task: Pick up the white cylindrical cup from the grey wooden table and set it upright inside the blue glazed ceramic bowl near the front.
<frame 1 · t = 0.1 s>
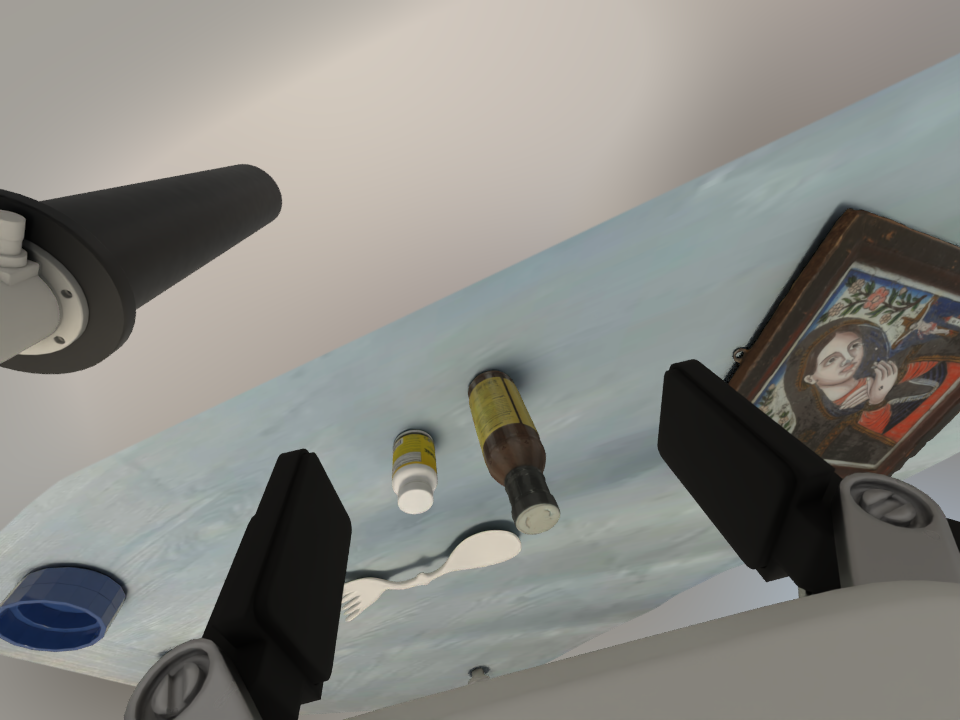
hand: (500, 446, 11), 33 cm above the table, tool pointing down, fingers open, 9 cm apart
spoon: (426, 559, 66), on the table
screw: (477, 670, 88), on the table
religious icon: (847, 376, 60), on the table
sauce bottle: (491, 388, 50), on the table
bowl: (76, 589, 56), on the table
supplement bottle: (414, 442, 53), on the table
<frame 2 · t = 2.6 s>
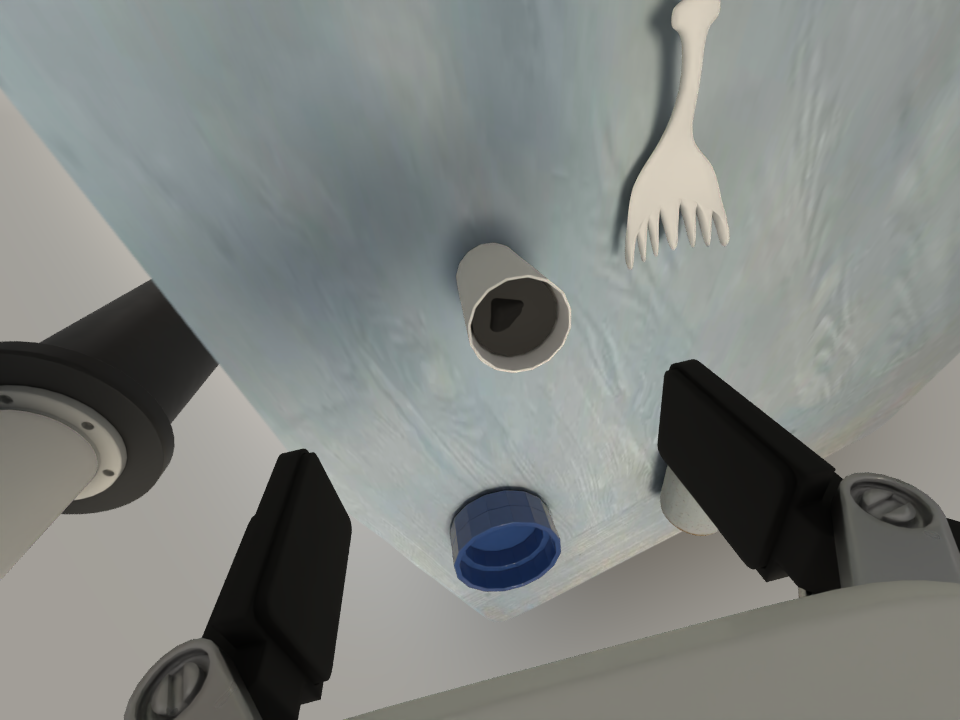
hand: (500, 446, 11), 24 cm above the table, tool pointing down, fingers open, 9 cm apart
ceramic mug: (688, 463, 50), on the table
spoon: (666, 14, 26), on the table
white cylindrical cup: (489, 276, 33), on the table
bowl: (499, 521, 49), on the table
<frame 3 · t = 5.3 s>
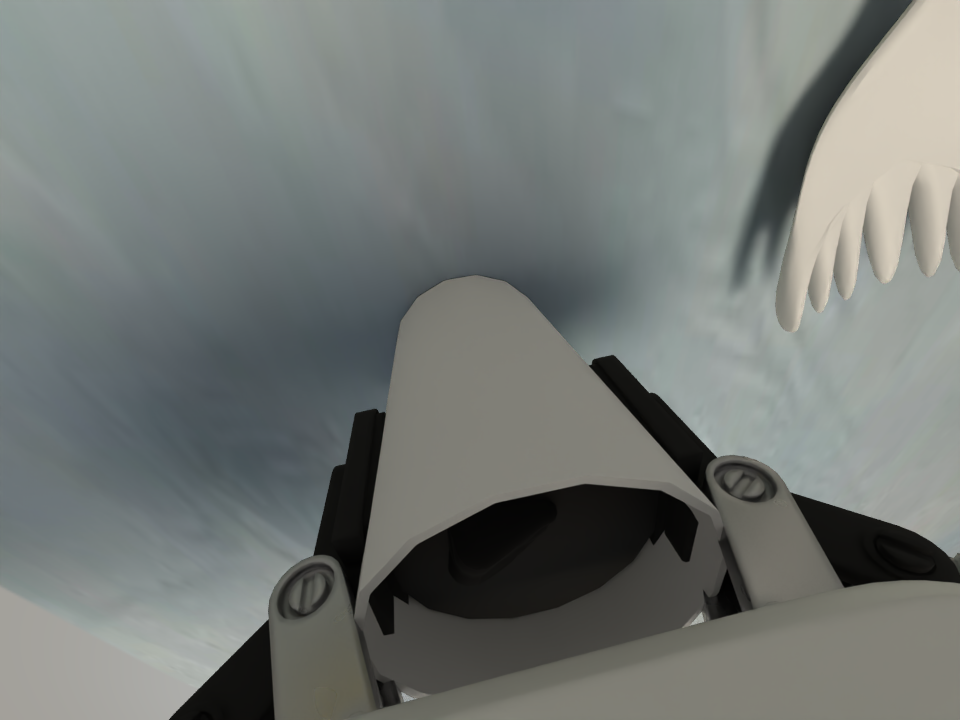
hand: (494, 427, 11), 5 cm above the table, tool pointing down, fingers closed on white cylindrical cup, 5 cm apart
white cylindrical cup: (470, 344, 16), on the table, touching gripper
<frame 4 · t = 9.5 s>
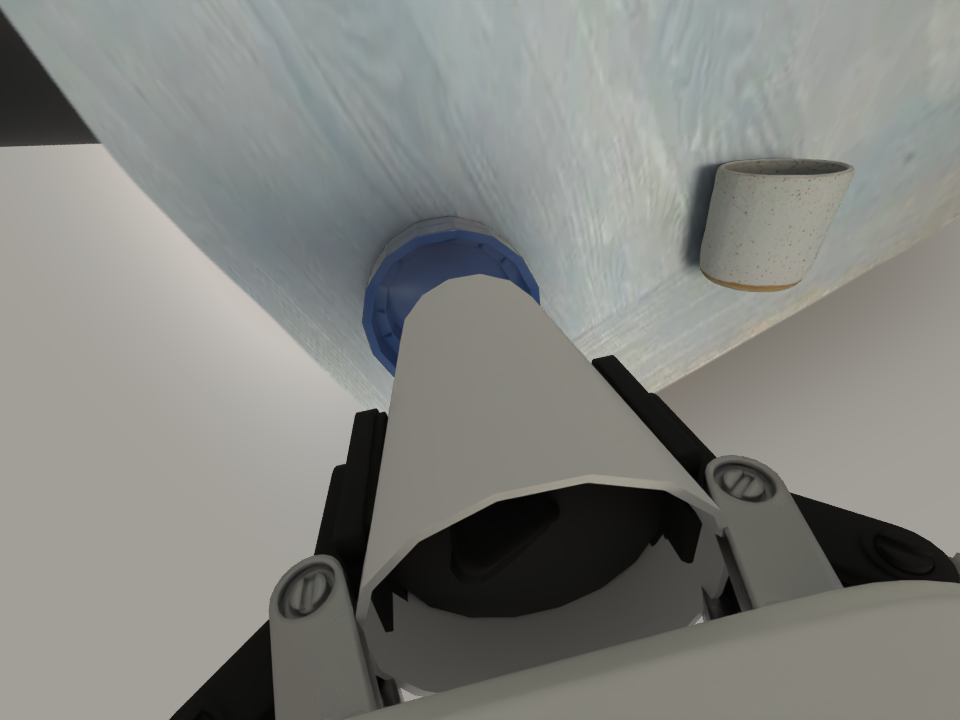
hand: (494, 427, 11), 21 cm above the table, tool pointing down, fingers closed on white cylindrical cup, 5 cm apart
ceramic mug: (742, 209, 32), on the table
white cylindrical cup: (474, 343, 16), point 16 cm above the table, touching gripper
bowl: (448, 295, 32), on the table
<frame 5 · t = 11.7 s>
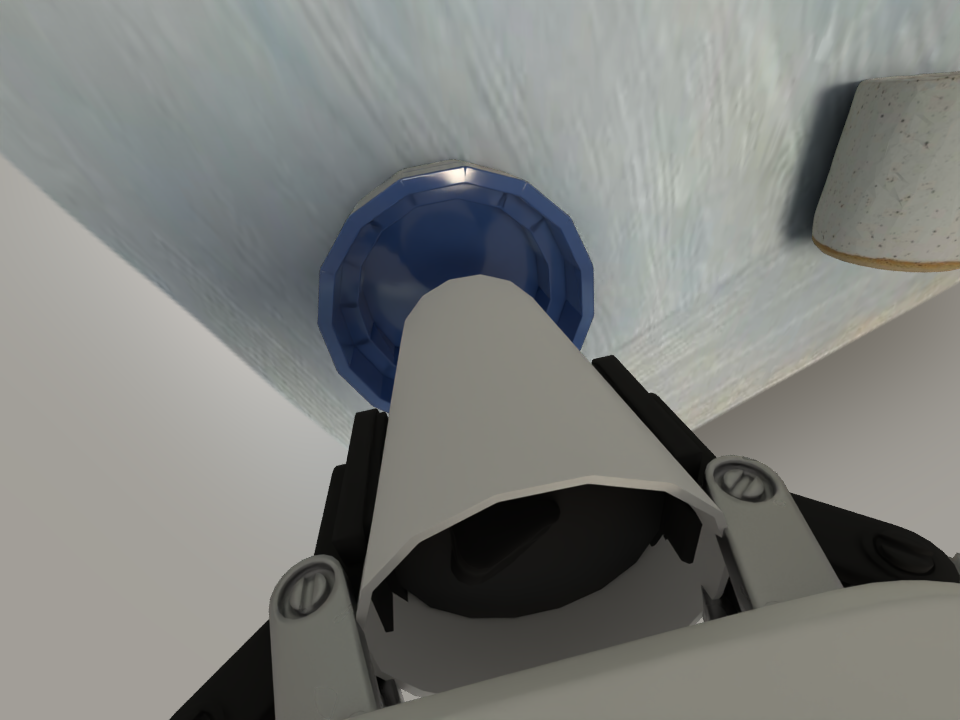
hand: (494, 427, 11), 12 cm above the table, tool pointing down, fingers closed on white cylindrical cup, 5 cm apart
ceramic mug: (873, 156, 22), on the table
white cylindrical cup: (474, 344, 16), point 7 cm above the table, touching gripper
bowl: (452, 283, 22), on the table
when the fingers open (5 cm above the table, at t = 13.8 s): white cylindrical cup stays where it is, resting on bowl.
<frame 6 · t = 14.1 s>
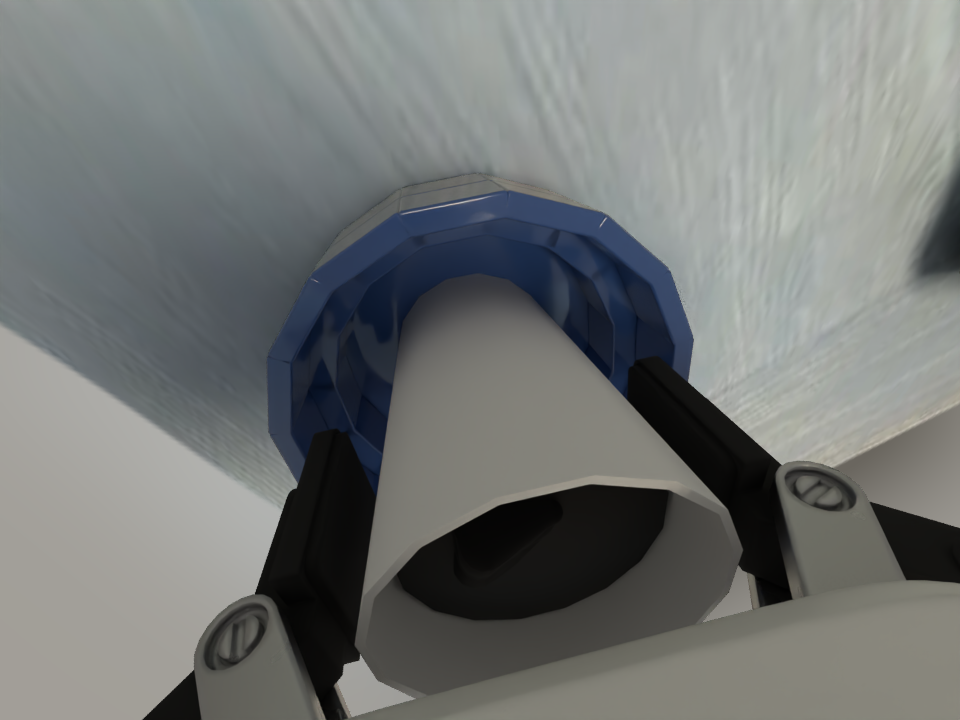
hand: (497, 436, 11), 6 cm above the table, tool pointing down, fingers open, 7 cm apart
white cylindrical cup: (473, 343, 15), resting on bowl
bowl: (470, 341, 16), on the table
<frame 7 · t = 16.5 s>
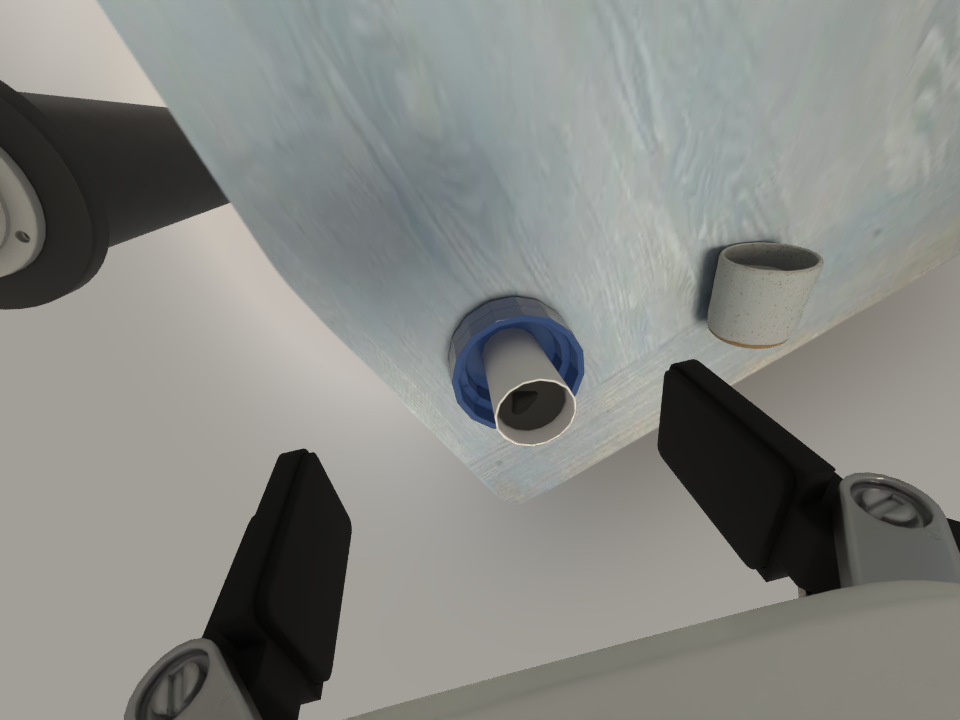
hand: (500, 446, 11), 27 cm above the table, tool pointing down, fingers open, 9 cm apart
ceramic mug: (741, 277, 40), on the table
white cylindrical cup: (509, 352, 40), resting on bowl
bowl: (508, 351, 40), on the table
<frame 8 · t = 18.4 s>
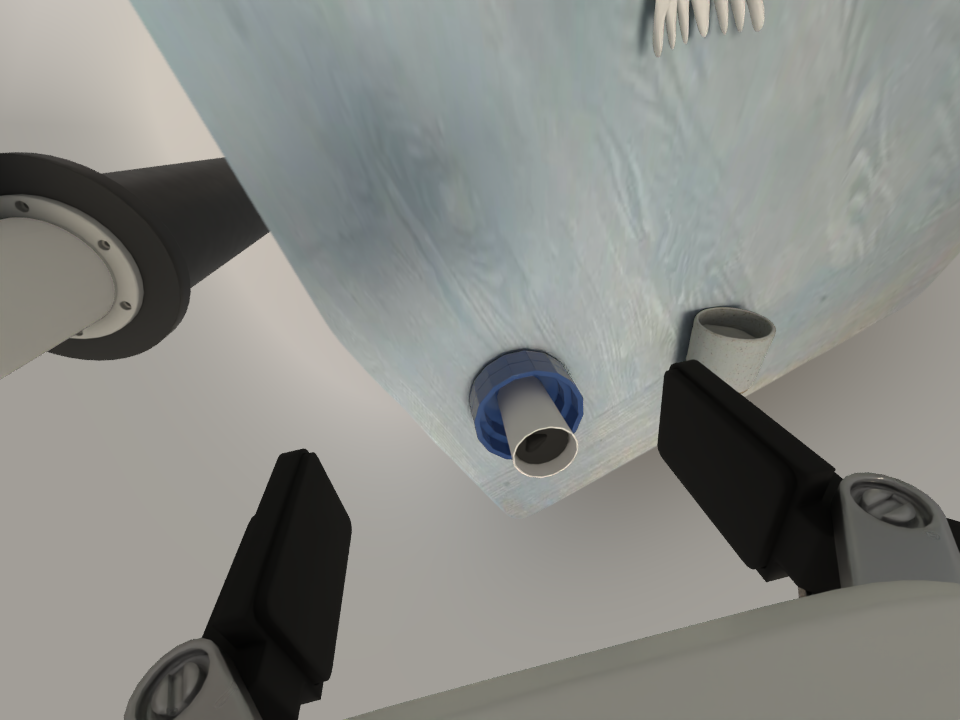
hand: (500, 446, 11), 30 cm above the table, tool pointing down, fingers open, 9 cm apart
ceramic mug: (713, 333, 48), on the table
white cylindrical cup: (520, 394, 47), resting on bowl
bowl: (519, 392, 48), on the table
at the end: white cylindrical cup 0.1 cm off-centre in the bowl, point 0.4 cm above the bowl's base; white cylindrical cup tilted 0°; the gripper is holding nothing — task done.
